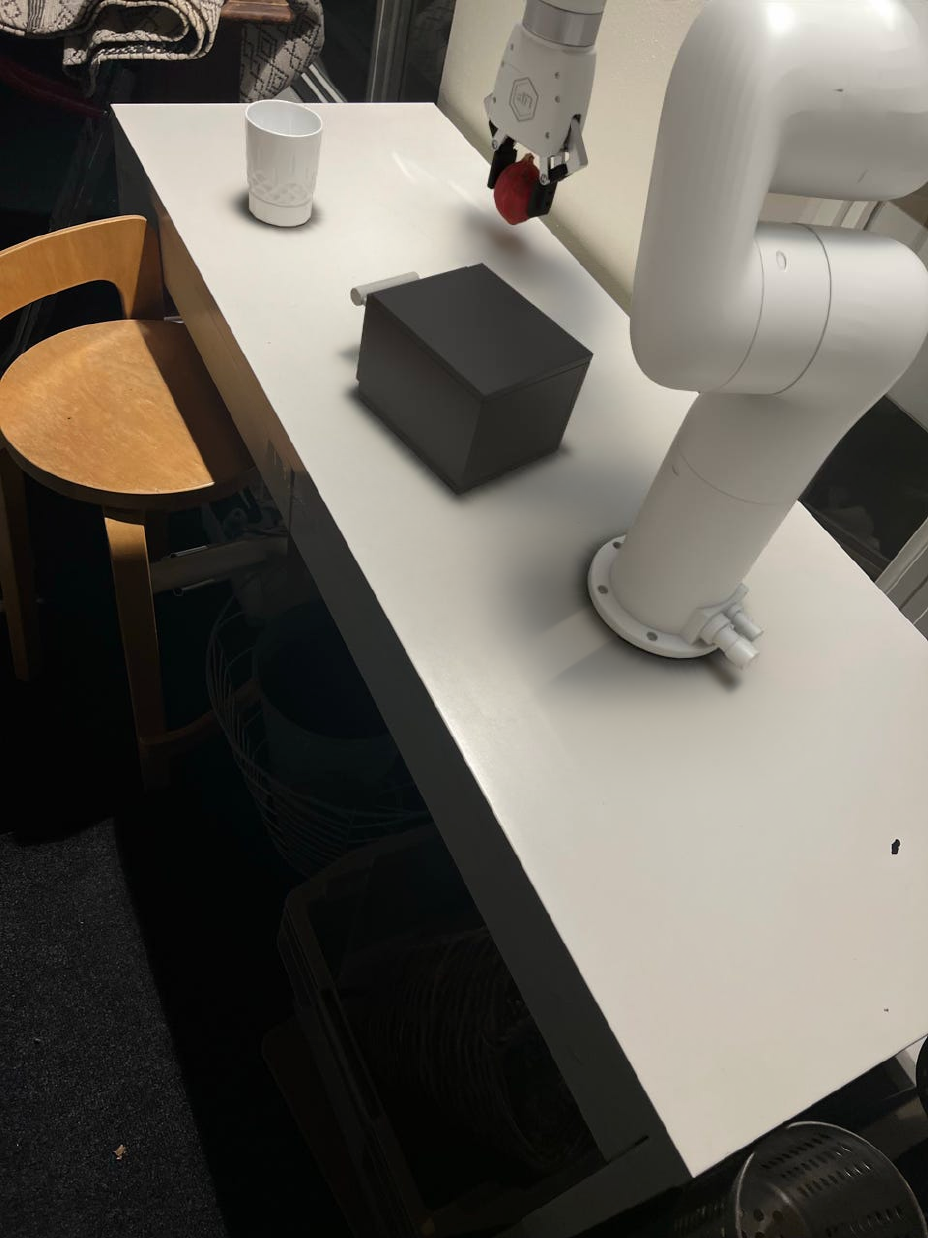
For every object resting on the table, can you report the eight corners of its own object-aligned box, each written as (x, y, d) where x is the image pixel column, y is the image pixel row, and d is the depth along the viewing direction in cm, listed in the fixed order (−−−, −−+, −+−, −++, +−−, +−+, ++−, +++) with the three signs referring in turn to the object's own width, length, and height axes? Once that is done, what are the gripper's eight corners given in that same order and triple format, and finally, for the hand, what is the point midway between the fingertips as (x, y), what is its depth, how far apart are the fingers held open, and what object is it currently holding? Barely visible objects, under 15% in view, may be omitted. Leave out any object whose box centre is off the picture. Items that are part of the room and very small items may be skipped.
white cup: (328, 225, 100) (337, 132, 92) (263, 234, 96) (266, 138, 89) (295, 189, 103) (300, 96, 96) (231, 196, 100) (231, 101, 92)
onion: (531, 243, 102) (551, 172, 96) (483, 228, 102) (499, 156, 96) (539, 220, 106) (557, 151, 100) (492, 206, 106) (508, 136, 100)
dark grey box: (356, 395, 83) (370, 292, 75) (459, 359, 89) (482, 262, 81) (457, 494, 77) (484, 395, 69) (558, 448, 84) (594, 353, 76)
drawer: (325, 349, 85) (333, 263, 78) (418, 320, 91) (434, 238, 84) (448, 468, 78) (468, 385, 71) (540, 428, 84) (567, 348, 77)
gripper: (476, -13, 90) (444, 169, 103) (597, 60, 83) (545, 244, 97) (529, -15, 94) (491, 160, 107) (649, 54, 87) (592, 232, 101)
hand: (517, 199), depth 102 cm, fingers closed on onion, 5 cm apart
